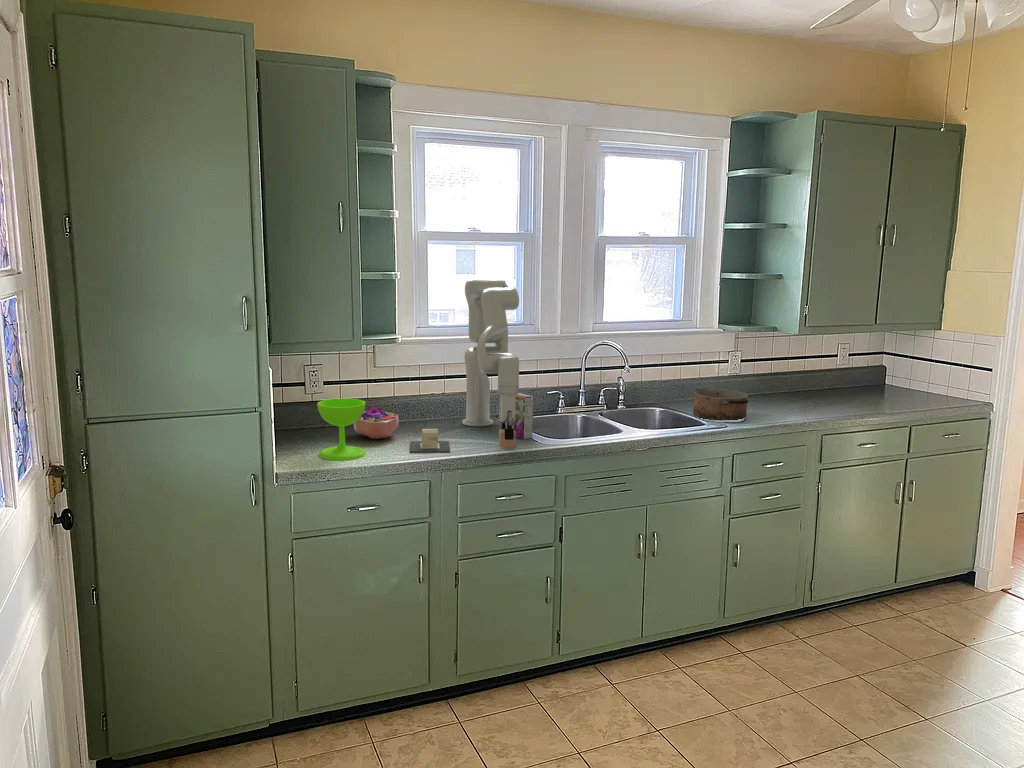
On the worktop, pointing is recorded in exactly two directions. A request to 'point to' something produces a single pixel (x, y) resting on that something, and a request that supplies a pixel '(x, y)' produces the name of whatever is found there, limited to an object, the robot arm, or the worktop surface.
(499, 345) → the robot arm
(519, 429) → the candy bar box
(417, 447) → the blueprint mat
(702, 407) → the cooking pot
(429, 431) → the birch block
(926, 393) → the worktop surface
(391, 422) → the cell model
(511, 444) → the terracotta block
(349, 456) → the wineglass
